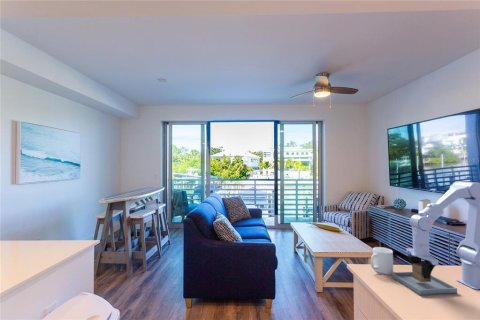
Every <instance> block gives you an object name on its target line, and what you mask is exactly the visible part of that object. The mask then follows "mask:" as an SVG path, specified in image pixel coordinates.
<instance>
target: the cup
mask: <svg viewBox="0 0 480 320" xmlns="http://www.w3.org/2000/svg"><path fill="white" fill-rule="evenodd" d="M393 253H394V251H393V250H392V249H390V248H387V247H382V246H381V247H380V246H375V247H373V248H372V255H371V257H370V266H371V268H372V269H373V270H374V272H377V273H379V274H382V275H391V273H394V254H393Z"/></svg>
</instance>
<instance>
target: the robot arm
mask: <svg viewBox="0 0 480 320" xmlns="http://www.w3.org/2000/svg"><path fill="white" fill-rule="evenodd" d="M458 199H464V200H465V201H466V202H467V203H468V210H467V211H468V213H467V221H466V229H465V237H464V239H462V240H461V241H459V245H458V246H457V248H456V251H455V252H456V255H457V257H459V261H461V278H457V279H456V281H457V282H459V283H461V284H463V285H466V286H467V287H469V288H472V289H474V290H480V182H476V181H475V182H473V181H472V182H471V181H461V180H457V181H454V182H453V183H452V184H451V185H450V186H449V189H448V190H447V191H446V192H445V193H444V194H443V195H442V196H441V197H440V198H439V199H438V200H437V201H436V202H435V203H434V202H433V203H432V202H431V203H428V204H426V206H425V208H423V209H422V210H421V211H418V214H413V215H412V216H411V217H410V219H409V220H408V223H409V225H410V226H411V230H412V247H406V248H405V249H406V250H405V252H406V253H407V254H408V255H407V259H408V260H409V262H410V265H412V263H421V265H422V269H423V276H424V278H425V279H427V278H430V275H432V271H433V270H434V268H435V267H436V266H439V260H438V259H436V258H435V257H434V256H432V255H431V254H430V230H431V229H432V228H433V225H434V223H435V221H436V220H437V219H438V218H440V217H441V216H442V215H444V213H445V212H444V210H445V209H446V208H447V207H448V206H450V205H451V204H453V203H454V202H455V201H457V200H458Z"/></svg>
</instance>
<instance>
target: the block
mask: <svg viewBox="0 0 480 320" xmlns="http://www.w3.org/2000/svg"><path fill="white" fill-rule="evenodd" d="M411 267H412V268H411V269H412V271H411V272H412V276H413V278H415V279H416V280H418V281H420V282H431V275H432V274H431V275H430V278H427V279H425V278H424V276H423V269H422V265H421V263H412V264H411Z"/></svg>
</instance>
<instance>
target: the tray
mask: <svg viewBox="0 0 480 320" xmlns="http://www.w3.org/2000/svg"><path fill="white" fill-rule="evenodd" d="M390 278H392V279H393V280H394V281H396V282H398V283H399V284H401V285H403V286H404V287H406V288H407V289H409V290H410V291H412V292H414V293H415V294H417V295H418V296H421V297H422V296H435V295H438V296H440V295H454V294H458V288H457V287H455V286H453V285H452V284H449V283H448V282H445V281H444V280H442V279H440V278H437V277H436V276H434V275H433V274H431V282H420V281H418V280H416V279H415V278H413V276H412V271H398V272H395V271H393V273H391V274H390Z"/></svg>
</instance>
